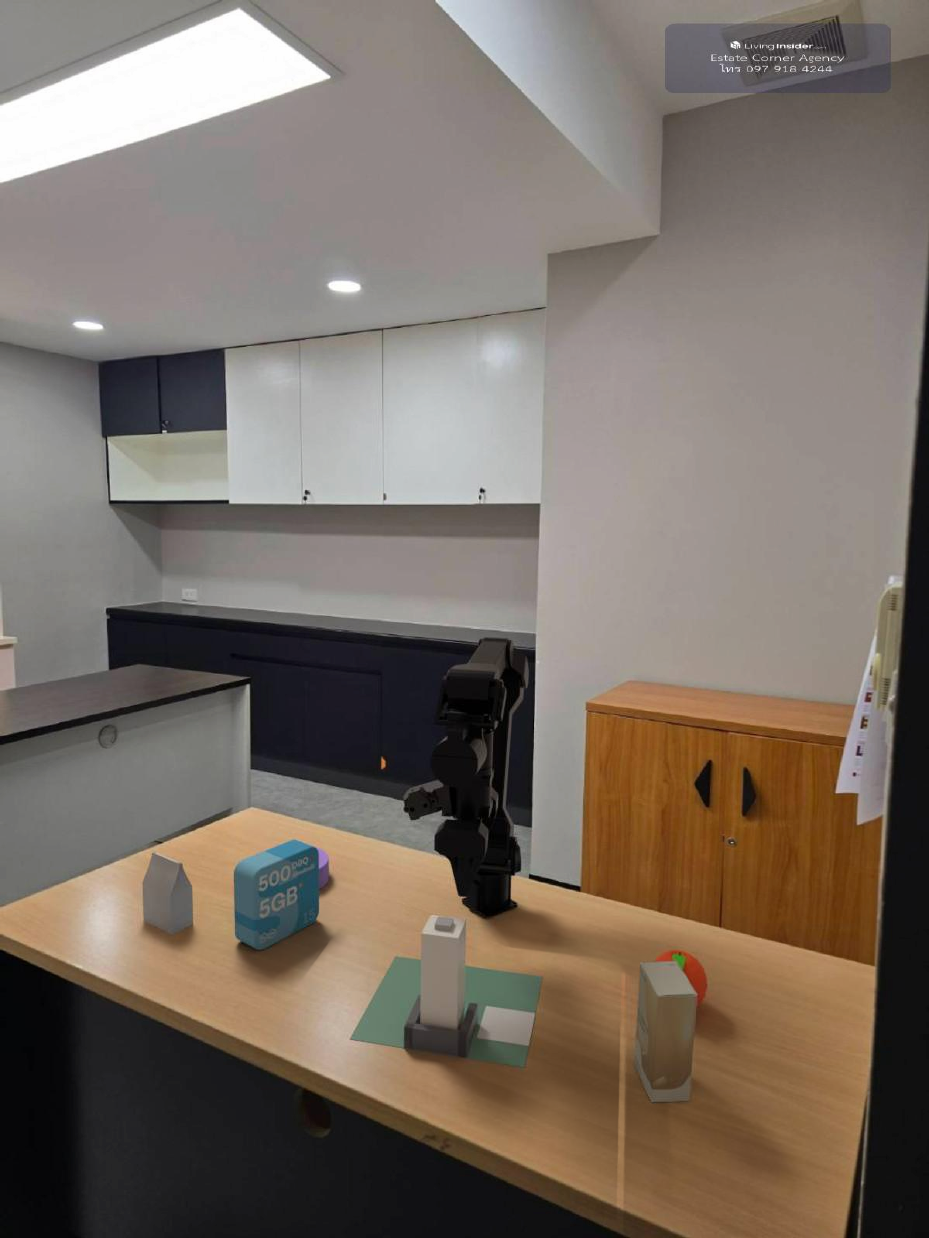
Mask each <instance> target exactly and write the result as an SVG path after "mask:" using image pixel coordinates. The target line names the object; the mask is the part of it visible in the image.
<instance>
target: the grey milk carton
mask: <svg viewBox="0 0 929 1238" xmlns="http://www.w3.org/2000/svg"><path fill="white" fill-rule="evenodd" d="M193 900H194V899H193V885H192V883H191V881H190V879H189V878H188V876H187V874H186V872H185V869H184V867H183V863H182V862H180V861H177V860H175V859H173V858H170V857H168V856H167V855H166V856H165V855H163V854H161V853H158V852H156V851H154V852H151V857H150V860H149V863H148V867H147V869H146V872H145V874H144V877H143V881H142V906H143V907H142V910H143V914H142V916H143V922H145V923H148V924H150V925H151V926H153V927H156V928H157V929H160V930H162V931H163V932H164V933H167V934H168V935H173V934H176V933H178V932H180V931H182V930H184V929H186V928H188V927H190V926H193V925H194V910H193V909H194V904H193V903H194V902H193Z"/></svg>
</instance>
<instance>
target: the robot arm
mask: <svg viewBox="0 0 929 1238" xmlns="http://www.w3.org/2000/svg"><path fill="white" fill-rule="evenodd" d="M477 646H478V647H477V649H476V650H475V651H474V653H473V654H472V656H471V657H470V660H469V661H468V662H467V663H462V664H456V665H455V664H454V666H452V667H451V668H450V669H449V670H447V673H446V675H443V677H442V679H441V683H440V690H439V695H438V701H437V706H436V712H435V717H434V726H440V727H446V728H445V729H446V731H445V735H444V738H443V739H442V740H441V741H440V742H439V743H438V744H437V745H436V746H435V748H434V749H433V750H432V752H431V757H430V761H429V762H430V769H431V772H432V774H433V776H434V777H435V779H436V780H433V781H430V782H426V783H422V784H419V785H416V786H413V787H410V788H409V789H407V791H406V792H405V793H404V795H403V797H402V799H403V800H402V801H403V803H404V807H403V809H402V810H403V812H404V813H407V814H408V818H409V820H410V821H412V822H413V821H417V820H419V819H420V818H422V817H425V816H429V815H433V814H436V813H439V812H441V817H447V818H448V819H447V818H446V819H445V820H444V821H443V822H441V823H440V824H439V825H438V827H437V828H436V832H435V834H434V838H433V839H434V840H433V841H434V843H433V844H434V846H433V850H434V851H435V852H436V853H438V854H439V855H440V856H444V857H445V858H446V859H447V860H448V861H449V863H450V867H451V870H452V875H453V879H454V884H455V889H456V892H457V896H458V897H460V898H461V897H462V898H461V904H464V905H465V906H466V907H469V908H470V909H471V910H472V911H475V912H476V913H478V914H479V915H481V916H483V917H484V918H492V917H494V916H496V915H498V914H501V913H504V912H507V911H509V910H512V909H514V908H517V907H518V902H517V901H515V900H513V899H512V897H511V896H512V877H515V876H516V873H520V872H521V871H522V850H521V846H520V845H519V842H518V837H517V836H515V835H514V834H515V824H514V823H513V820H512V817H511V816H510V813H509V812H508V810H507V808H506V807H507V806H506V804H507V803H506V802H507V790H508V778H509V764H510V751H511V750H510V748H511V737H512V735H511V734H512V724H513V723H512V722H513V714H514V713H515V711H516V710H517V709H518V707H519V706H520V704H521V703H522V702H523V700H524V692H525V689H527V688H528V686H529V676H530V674H529V673H530V672H529V664H528V658H527V656H526V655H525V654H524V653H523V652H521V651H520V650H518V648H516V647H515V645H514V641H513V639H509V638H508V637H496V636H495V637H494V636H493V637H491V636H490V637H489V636H484V637H483V638H479V641H478V644H477ZM451 817H452V818H453V819H449V818H451Z"/></svg>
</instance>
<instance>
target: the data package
mask: <svg viewBox="0 0 929 1238" xmlns="http://www.w3.org/2000/svg"><path fill="white" fill-rule="evenodd" d="M316 847H317V846H314V847H313V845H311V844H309V843H305V842H303V841H300V840H298V839H291V840H288V841H286V842H283V843H281V844H277V845H276V846H273V847H270V848H268V849H265V850H263V851H261V852H257V853H256V854H253V855H250V856H248V857H246V858H243V859H241V860H240V861H238V863H237V864H236V865H235V867H234V870H233V903H234V905H233V907H234V908H233V909H234V912H233V913H234V936H235V938H236V939H237V940H238V941H240V942H242V943H244V944H245V945H248V946H249V947H251V948H252V949H255V950H257V951H262V950H265V949H267V948H268V947H270V946H273V945H274V944H276V943H278V942H281V941H282V940H284V939H286V938H288V937H289V936H291V934H292V935H294V934H296V933H297V932H299V931H301V930H303V929H304V928H306V927H309V926H310V925H313V924H314V923H315V921H316V920H317V919H318V916H319V914H320V889H319V852H318V850H317V848H318V847H317V848H316Z"/></svg>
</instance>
